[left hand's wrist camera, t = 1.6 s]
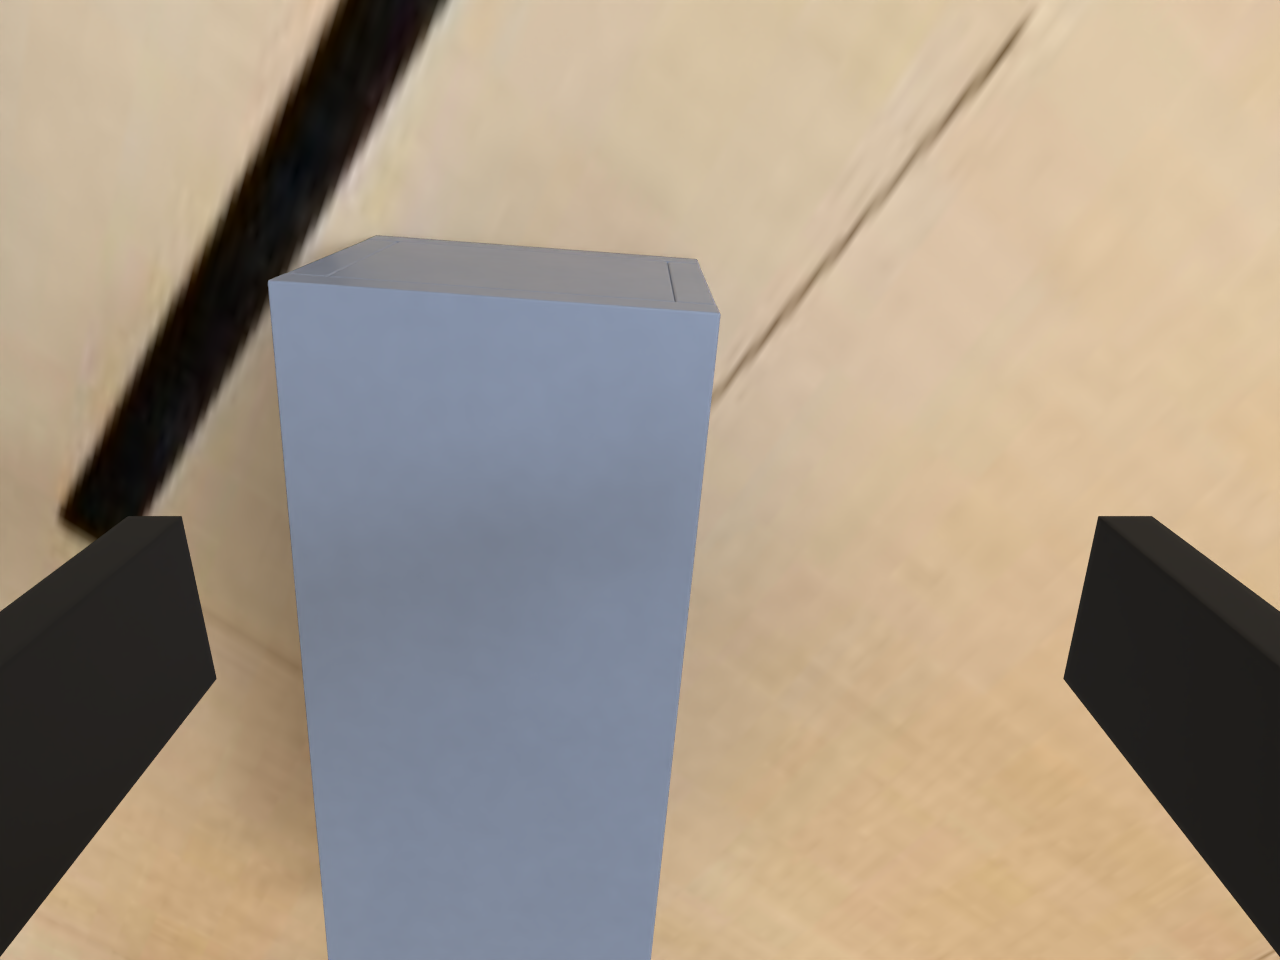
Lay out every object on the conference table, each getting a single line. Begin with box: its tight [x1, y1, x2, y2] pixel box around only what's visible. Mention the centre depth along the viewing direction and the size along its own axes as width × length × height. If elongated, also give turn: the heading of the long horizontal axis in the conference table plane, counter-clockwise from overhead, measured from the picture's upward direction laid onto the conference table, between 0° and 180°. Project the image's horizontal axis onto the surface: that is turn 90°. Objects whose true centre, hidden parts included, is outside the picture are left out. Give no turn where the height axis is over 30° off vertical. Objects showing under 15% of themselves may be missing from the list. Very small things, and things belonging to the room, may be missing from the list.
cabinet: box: [268, 235, 720, 960], centre depth 27 cm, size 22×10×8 cm, turn 176°
